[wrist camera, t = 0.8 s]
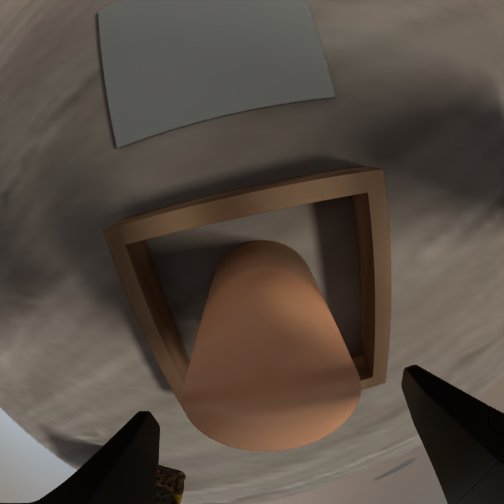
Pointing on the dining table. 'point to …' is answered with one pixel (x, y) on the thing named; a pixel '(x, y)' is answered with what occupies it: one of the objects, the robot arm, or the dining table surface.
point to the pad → (206, 61)
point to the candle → (168, 486)
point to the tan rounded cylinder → (268, 355)
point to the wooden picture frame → (249, 203)
